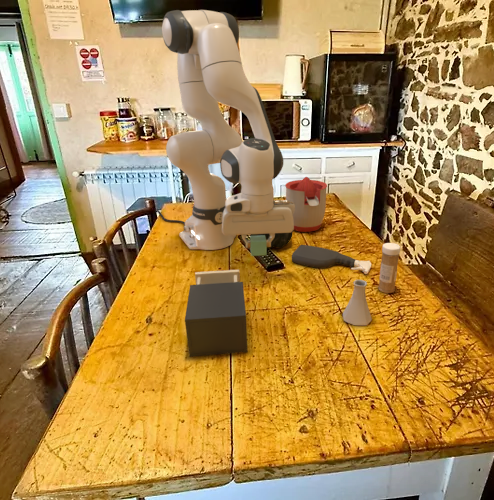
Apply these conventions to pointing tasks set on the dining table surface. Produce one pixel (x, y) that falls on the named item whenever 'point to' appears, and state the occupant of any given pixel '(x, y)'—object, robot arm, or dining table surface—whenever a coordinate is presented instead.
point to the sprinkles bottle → (389, 267)
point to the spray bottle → (326, 258)
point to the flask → (357, 306)
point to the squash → (278, 239)
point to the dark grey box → (216, 319)
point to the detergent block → (258, 245)
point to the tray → (217, 277)
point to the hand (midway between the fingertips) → (258, 246)
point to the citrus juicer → (307, 203)
